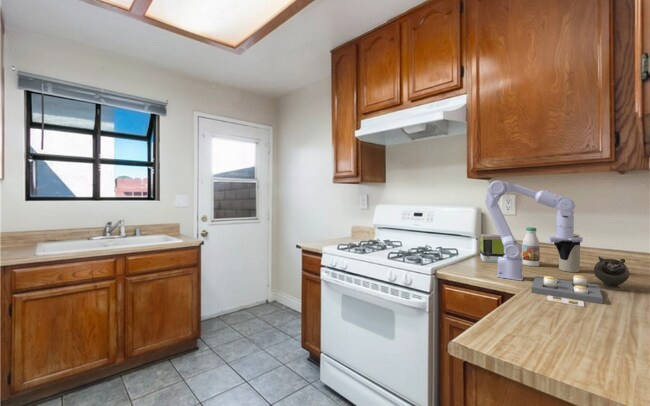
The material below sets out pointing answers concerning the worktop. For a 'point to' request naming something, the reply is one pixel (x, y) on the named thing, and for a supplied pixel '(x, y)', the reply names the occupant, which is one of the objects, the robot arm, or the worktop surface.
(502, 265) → the robot arm
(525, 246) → the milk bottle
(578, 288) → the near-right button
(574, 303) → the card
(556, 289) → the button board
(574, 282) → the far-right button
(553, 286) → the near-left button
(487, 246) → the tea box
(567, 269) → the travel mug
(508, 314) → the worktop surface
